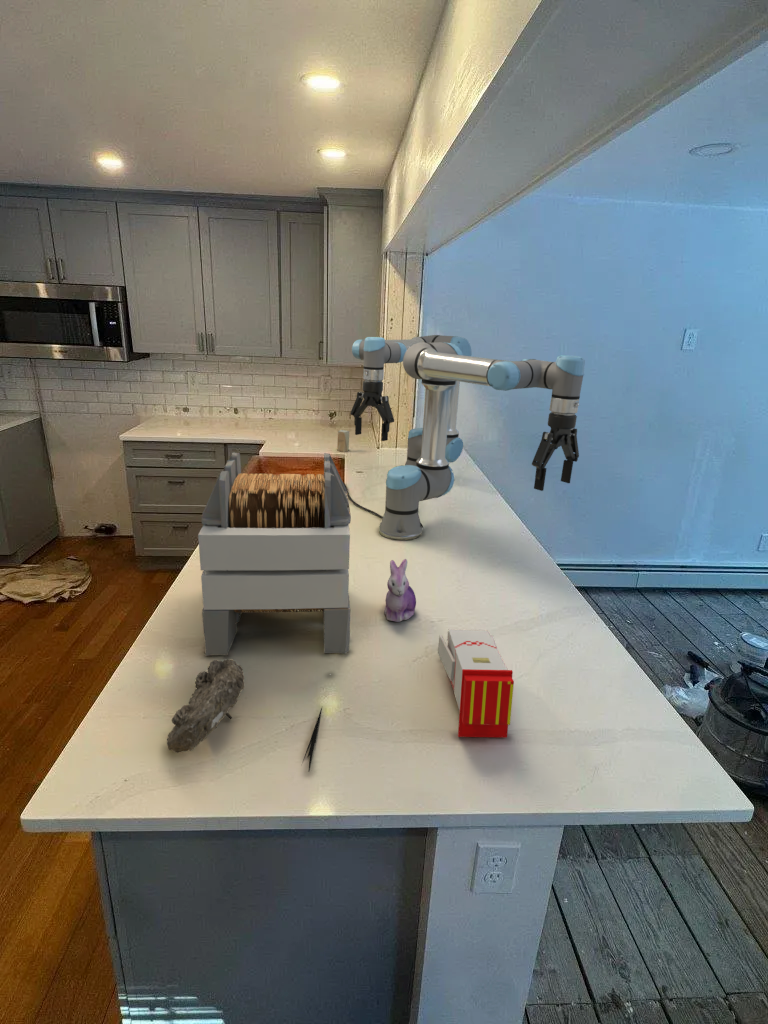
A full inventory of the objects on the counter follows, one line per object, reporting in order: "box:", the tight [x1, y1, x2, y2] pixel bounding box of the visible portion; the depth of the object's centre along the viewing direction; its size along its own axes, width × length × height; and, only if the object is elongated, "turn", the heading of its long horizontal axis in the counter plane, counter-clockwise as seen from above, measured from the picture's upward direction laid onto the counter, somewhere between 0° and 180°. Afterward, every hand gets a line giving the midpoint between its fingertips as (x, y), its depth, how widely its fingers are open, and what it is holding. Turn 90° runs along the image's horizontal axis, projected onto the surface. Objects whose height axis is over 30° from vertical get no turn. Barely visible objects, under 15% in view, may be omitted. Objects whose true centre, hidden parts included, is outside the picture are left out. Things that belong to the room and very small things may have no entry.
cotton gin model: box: [197, 451, 352, 657], centre depth 136 cm, size 34×33×41 cm
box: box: [336, 429, 350, 453], centre depth 309 cm, size 5×4×11 cm
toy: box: [437, 628, 515, 738], centre depth 117 cm, size 12×13×30 cm
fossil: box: [166, 658, 245, 754], centre depth 106 cm, size 22×10×15 cm
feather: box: [301, 673, 332, 771], centre depth 108 cm, size 2×28×2 cm
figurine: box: [384, 558, 417, 623], centre depth 145 cm, size 9×10×15 cm
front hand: (552, 485), depth 166 cm, fingers open, 13 cm apart
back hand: (371, 437), depth 216 cm, fingers open, 13 cm apart
